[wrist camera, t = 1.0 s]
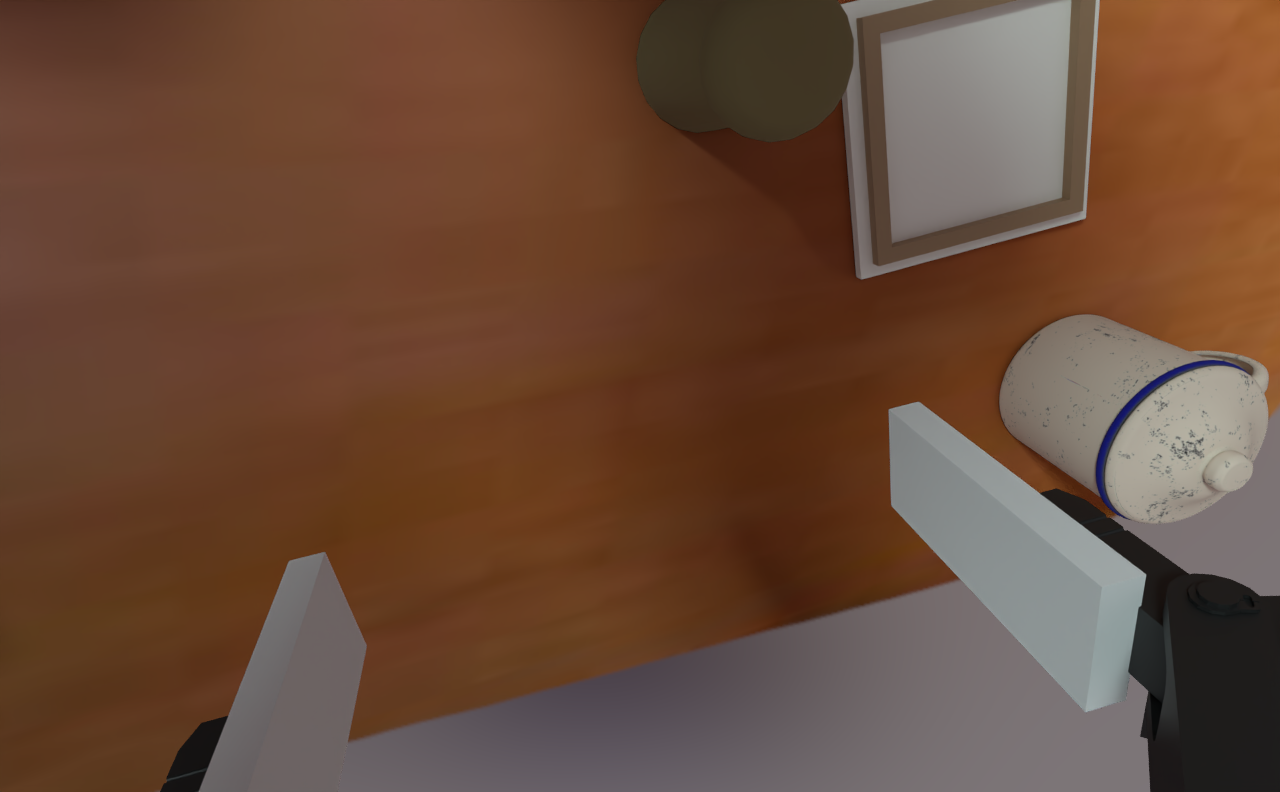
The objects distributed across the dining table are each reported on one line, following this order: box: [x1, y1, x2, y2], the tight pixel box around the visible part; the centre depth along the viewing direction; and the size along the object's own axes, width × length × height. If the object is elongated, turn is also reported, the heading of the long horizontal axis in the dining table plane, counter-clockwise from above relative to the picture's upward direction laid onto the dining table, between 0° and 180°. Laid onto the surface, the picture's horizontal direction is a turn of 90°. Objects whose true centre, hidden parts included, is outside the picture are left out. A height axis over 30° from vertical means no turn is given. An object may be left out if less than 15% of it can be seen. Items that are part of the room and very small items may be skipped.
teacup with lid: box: [999, 314, 1269, 524], centre depth 39 cm, size 12×9×12 cm
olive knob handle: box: [636, 0, 854, 142], centre depth 28 cm, size 6×6×11 cm
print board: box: [840, 0, 1100, 280], centre depth 36 cm, size 13×13×1 cm
